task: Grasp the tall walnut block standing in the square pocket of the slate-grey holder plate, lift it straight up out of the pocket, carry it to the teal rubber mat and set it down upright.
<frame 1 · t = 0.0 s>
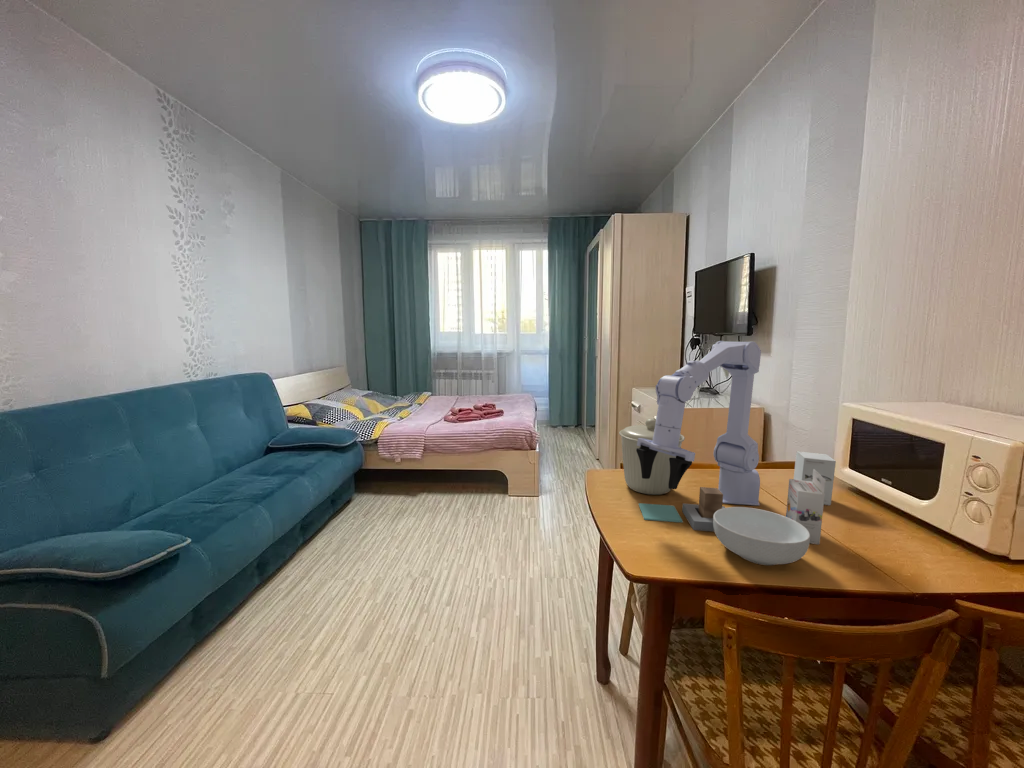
hand: (658, 483, 94), 11 cm above the table, tool pointing down, fingers open, 7 cm apart
supplement box: (810, 499, 112), on the table
walnut block: (709, 522, 98), resting in pocket plate
canister: (648, 489, 119), on the table
mat: (659, 513, 103), on the table
ink box: (801, 535, 92), on the table
pocket plate: (709, 521, 98), on the table
cereal bowl: (756, 555, 83), on the table
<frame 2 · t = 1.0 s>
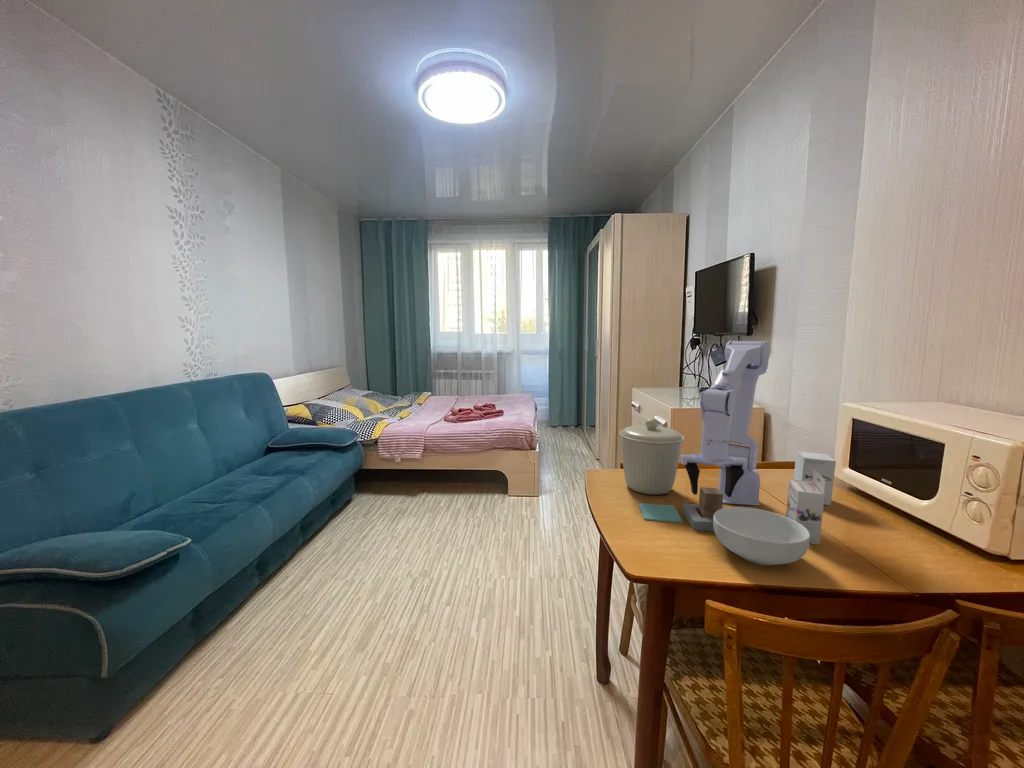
hand: (710, 494, 97), 7 cm above the table, tool pointing down, fingers open, 7 cm apart
nothing on the table moved.
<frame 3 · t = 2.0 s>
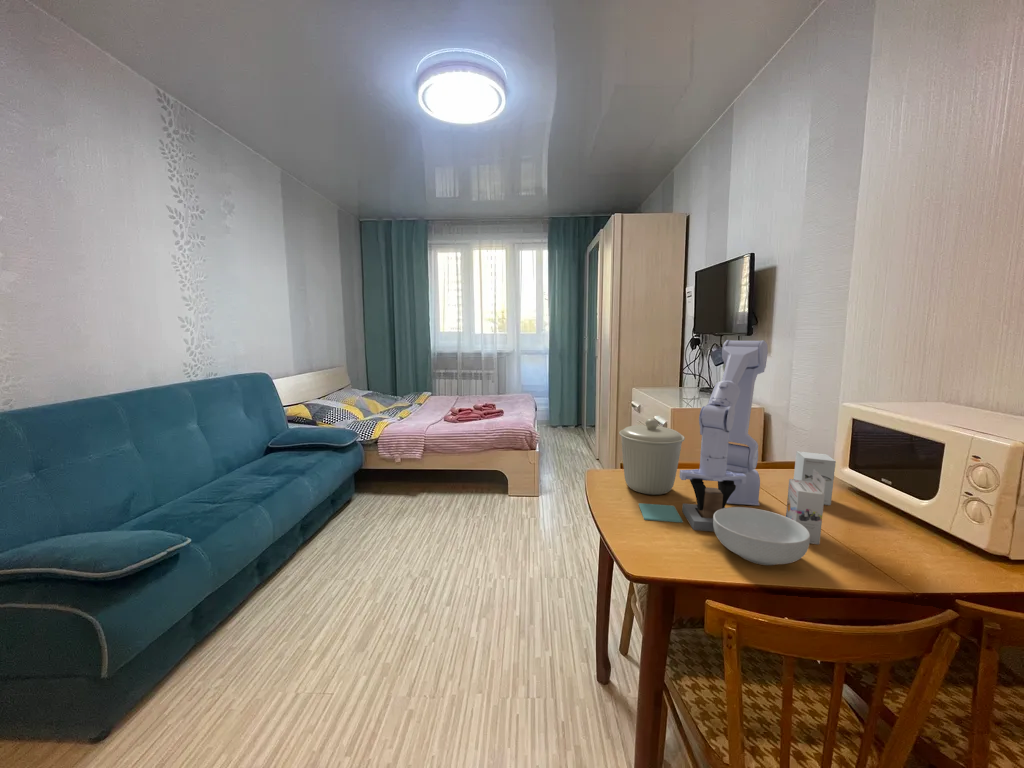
hand: (709, 509, 98), 3 cm above the table, tool pointing down, fingers closed on walnut block, 4 cm apart
walnut block: (709, 522, 98), resting in pocket plate, touching gripper
everything else where it was.
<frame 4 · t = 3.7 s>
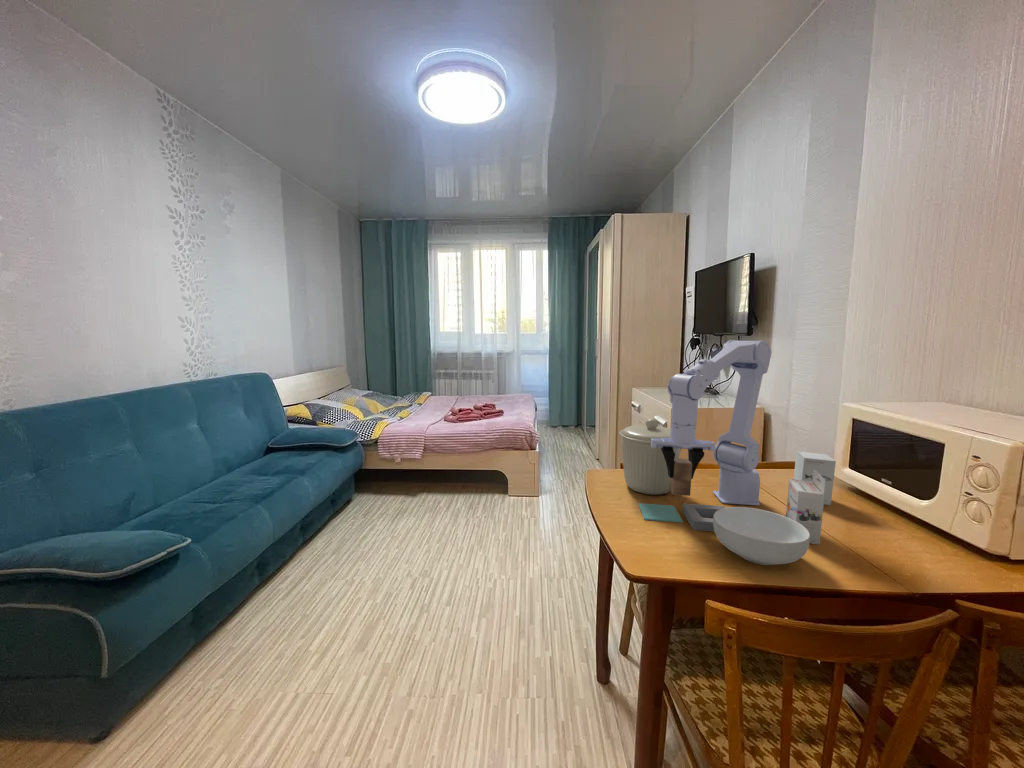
hand: (680, 477, 99), 10 cm above the table, tool pointing down, fingers closed on walnut block, 4 cm apart
walnut block: (679, 492, 100), point 6 cm above the table, touching gripper
everything else where it was.
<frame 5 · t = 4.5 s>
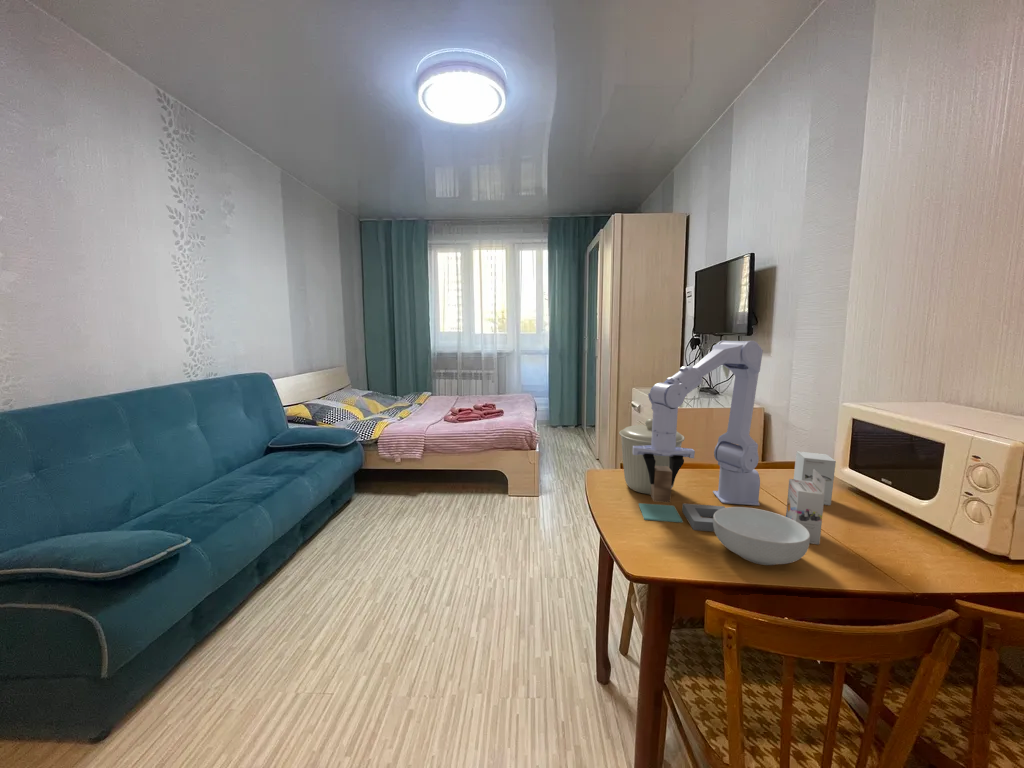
hand: (661, 483, 102), 8 cm above the table, tool pointing down, fingers closed on walnut block, 4 cm apart
walnut block: (660, 498, 102), point 4 cm above the table, touching gripper
everything else where it was.
when the fingers open (5 cm above the table, at t = 5.4 s): walnut block stays where it is, resting on mat.
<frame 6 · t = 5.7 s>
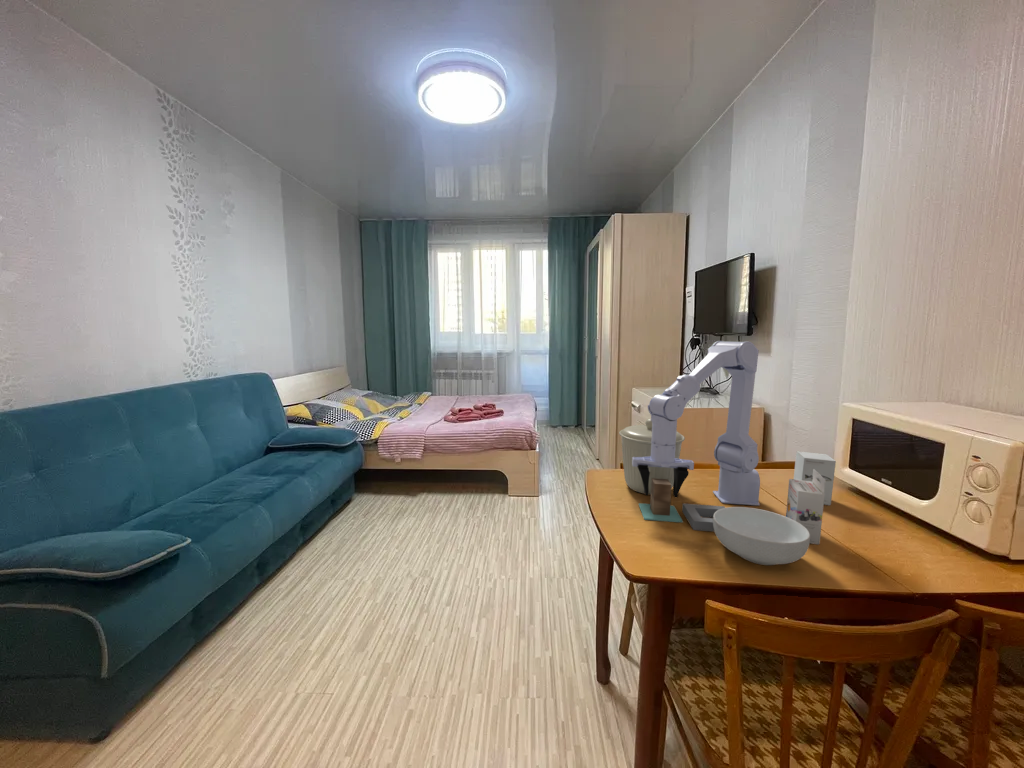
hand: (660, 494, 102), 5 cm above the table, tool pointing down, fingers open, 6 cm apart
walnut block: (659, 511, 103), resting on mat
everything else where it was.
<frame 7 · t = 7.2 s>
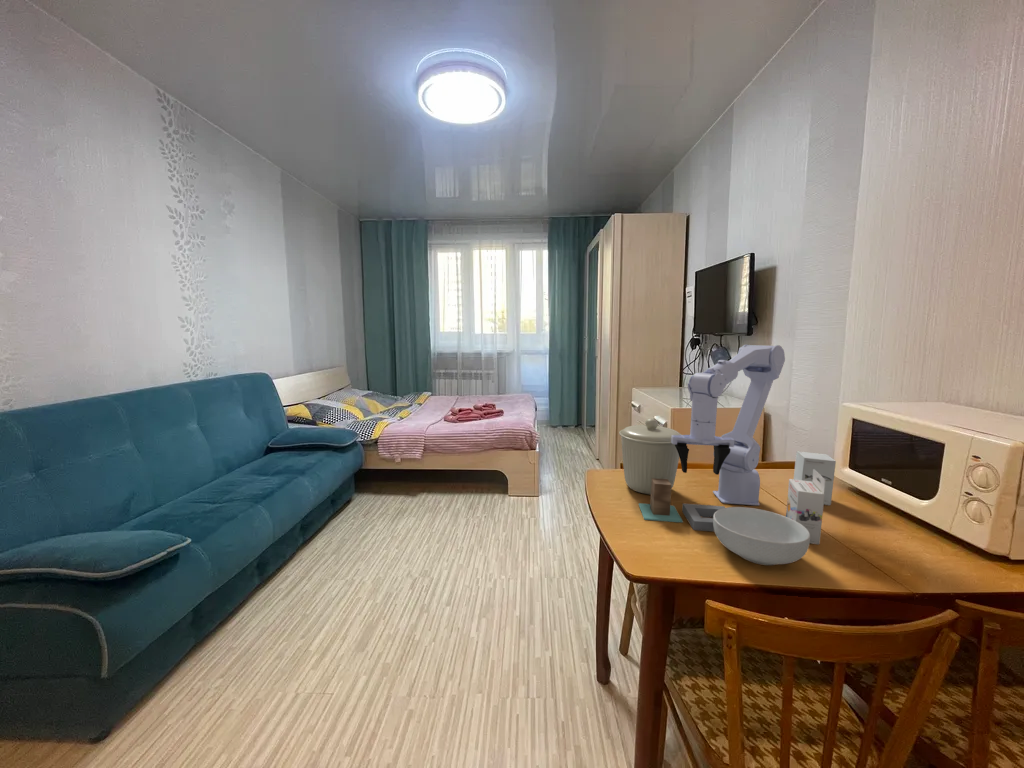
hand: (699, 472, 103), 10 cm above the table, tool pointing down, fingers open, 7 cm apart
nothing on the table moved.
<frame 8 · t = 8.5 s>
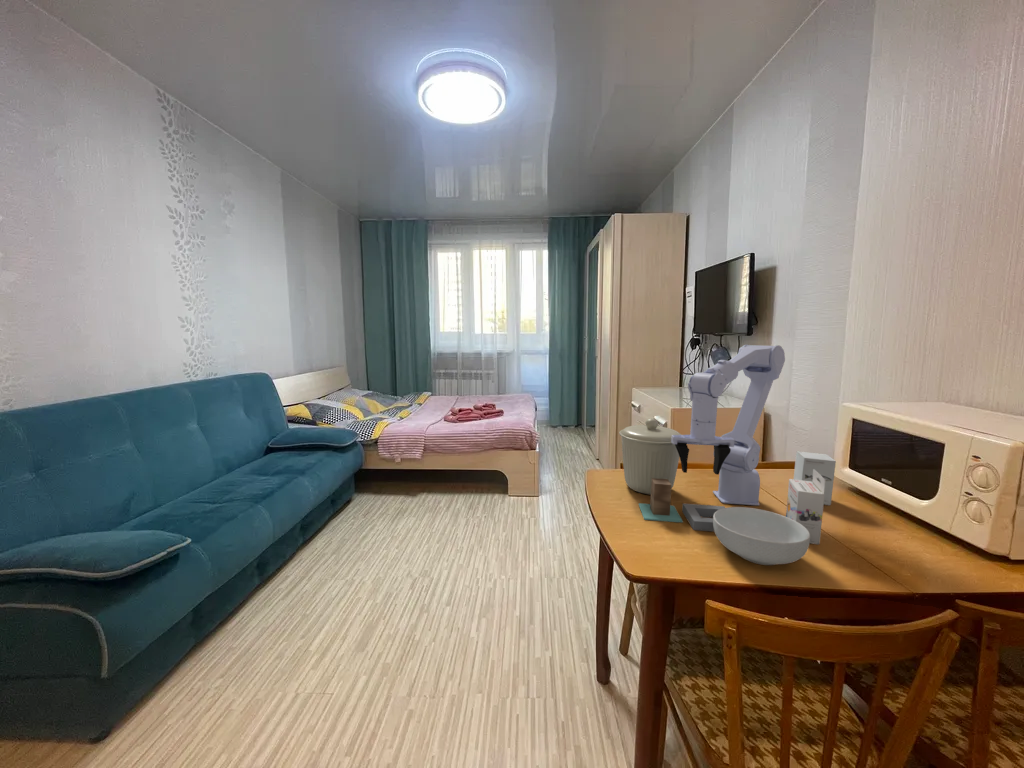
hand: (700, 472, 103), 10 cm above the table, tool pointing down, fingers open, 7 cm apart
nothing on the table moved.
at the end: walnut block inside the target area on the mat (0.0 cm from its centre), point 0.4 cm above the mat's base; walnut block tilted 0°; the gripper is holding nothing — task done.
